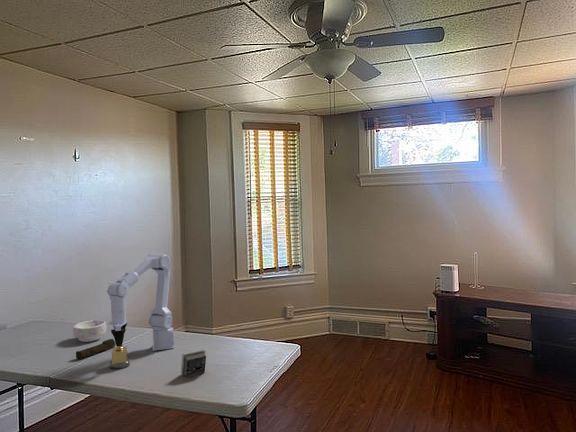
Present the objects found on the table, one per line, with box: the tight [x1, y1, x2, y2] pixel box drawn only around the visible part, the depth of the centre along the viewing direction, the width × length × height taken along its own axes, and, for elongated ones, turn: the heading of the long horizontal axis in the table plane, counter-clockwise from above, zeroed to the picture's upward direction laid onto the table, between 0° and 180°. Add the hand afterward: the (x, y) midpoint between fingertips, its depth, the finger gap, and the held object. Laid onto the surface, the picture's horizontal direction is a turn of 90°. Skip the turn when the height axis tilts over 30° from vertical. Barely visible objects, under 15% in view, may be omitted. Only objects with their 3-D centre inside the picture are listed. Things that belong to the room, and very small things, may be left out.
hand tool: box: [75, 338, 116, 361], centre depth 197 cm, size 19×4×5 cm, turn 147°
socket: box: [111, 345, 128, 365], centre depth 181 cm, size 6×6×6 cm
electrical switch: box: [180, 348, 207, 378], centre depth 170 cm, size 9×5×9 cm, turn 122°
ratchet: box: [109, 358, 131, 371], centre depth 187 cm, size 20×8×5 cm, turn 17°
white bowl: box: [72, 319, 107, 343], centre depth 219 cm, size 15×15×8 cm
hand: (119, 343), depth 181 cm, fingers open, 7 cm apart
